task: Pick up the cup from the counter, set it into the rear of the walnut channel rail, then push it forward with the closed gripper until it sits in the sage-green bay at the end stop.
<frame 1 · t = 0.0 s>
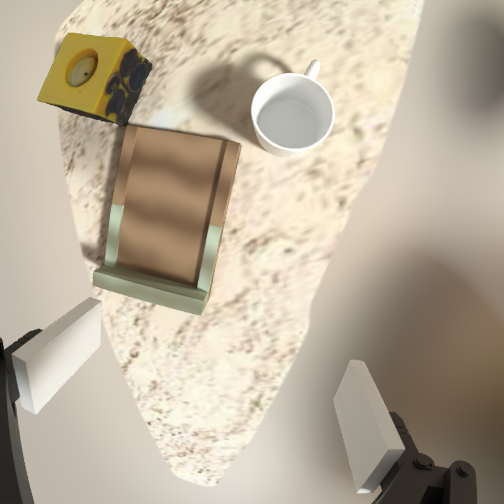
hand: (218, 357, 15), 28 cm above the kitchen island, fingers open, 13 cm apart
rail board: (169, 212, 42), on the kitchen island
candle: (112, 89, 39), on the kitchen island
cup: (292, 115, 39), on the kitchen island
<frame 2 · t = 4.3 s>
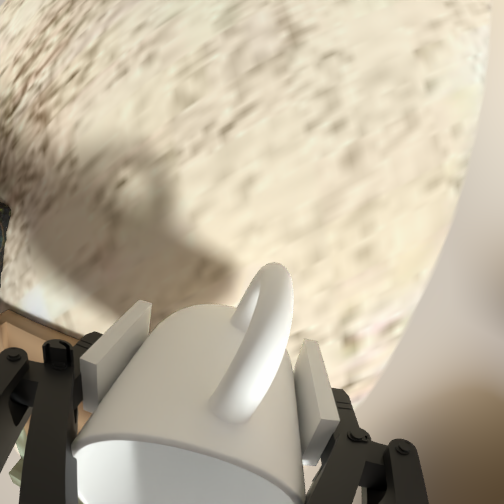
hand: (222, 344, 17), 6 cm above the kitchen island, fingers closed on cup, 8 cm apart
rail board: (74, 423, 25), on the kitchen island
cup: (230, 339, 17), point 5 cm above the kitchen island, touching gripper
when the fingers open (3 cm above the kitchen island, at t = 7.9 s): cup stays where it is, resting on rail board.
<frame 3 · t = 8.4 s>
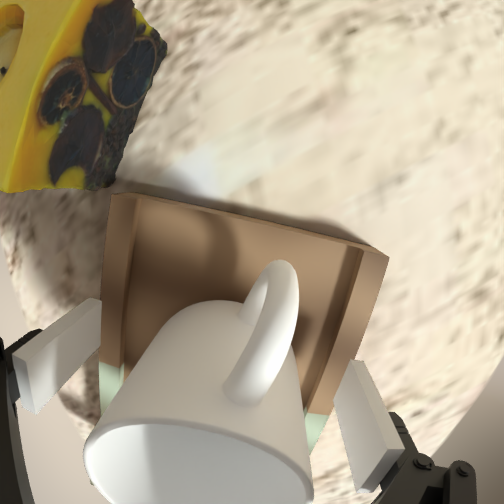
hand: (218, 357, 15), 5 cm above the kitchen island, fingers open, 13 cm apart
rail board: (217, 371, 21), on the kitchen island
candle: (81, 100, 18), on the kitchen island
cup: (236, 334, 18), point 2 cm above the kitchen island, touching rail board
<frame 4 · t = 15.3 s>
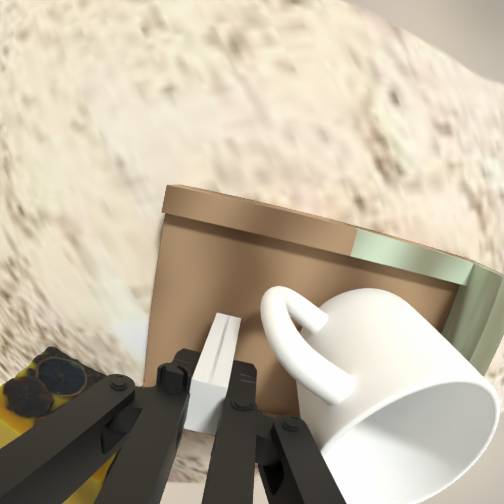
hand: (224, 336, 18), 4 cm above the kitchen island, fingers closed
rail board: (313, 331, 21), on the kitchen island
candle: (93, 407, 24), on the kitchen island
cup: (337, 328, 19), point 2 cm above the kitchen island, touching hand, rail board
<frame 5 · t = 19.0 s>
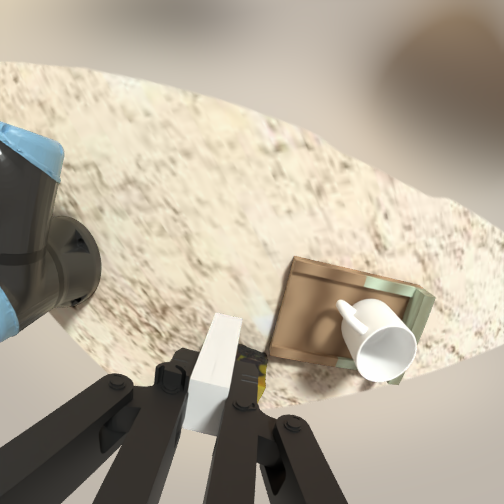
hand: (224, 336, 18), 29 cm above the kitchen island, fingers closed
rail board: (346, 317, 48), on the kitchen island
candle: (228, 366, 51), on the kitchen island
cup: (358, 315, 46), point 2 cm above the kitchen island, touching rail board
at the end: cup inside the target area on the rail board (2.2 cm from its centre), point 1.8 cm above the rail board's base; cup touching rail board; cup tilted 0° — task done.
